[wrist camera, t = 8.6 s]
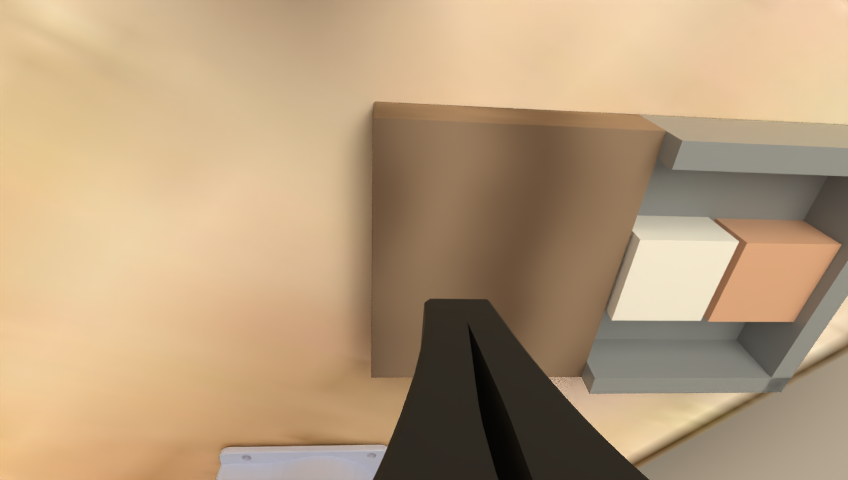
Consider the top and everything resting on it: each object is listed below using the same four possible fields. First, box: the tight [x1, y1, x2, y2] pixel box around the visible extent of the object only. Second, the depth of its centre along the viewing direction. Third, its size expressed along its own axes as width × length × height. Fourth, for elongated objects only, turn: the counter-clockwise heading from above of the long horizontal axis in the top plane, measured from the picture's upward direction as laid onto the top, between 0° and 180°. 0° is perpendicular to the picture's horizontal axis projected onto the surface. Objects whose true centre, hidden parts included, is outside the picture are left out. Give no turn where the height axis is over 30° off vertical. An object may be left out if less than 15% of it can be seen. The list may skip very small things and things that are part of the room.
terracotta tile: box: [703, 218, 842, 322], centre depth 20 cm, size 4×4×2 cm
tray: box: [582, 115, 848, 394], centre depth 19 cm, size 10×12×3 cm
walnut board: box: [371, 102, 666, 377], centre depth 19 cm, size 10×12×2 cm
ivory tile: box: [605, 215, 739, 321], centre depth 19 cm, size 4×4×2 cm
